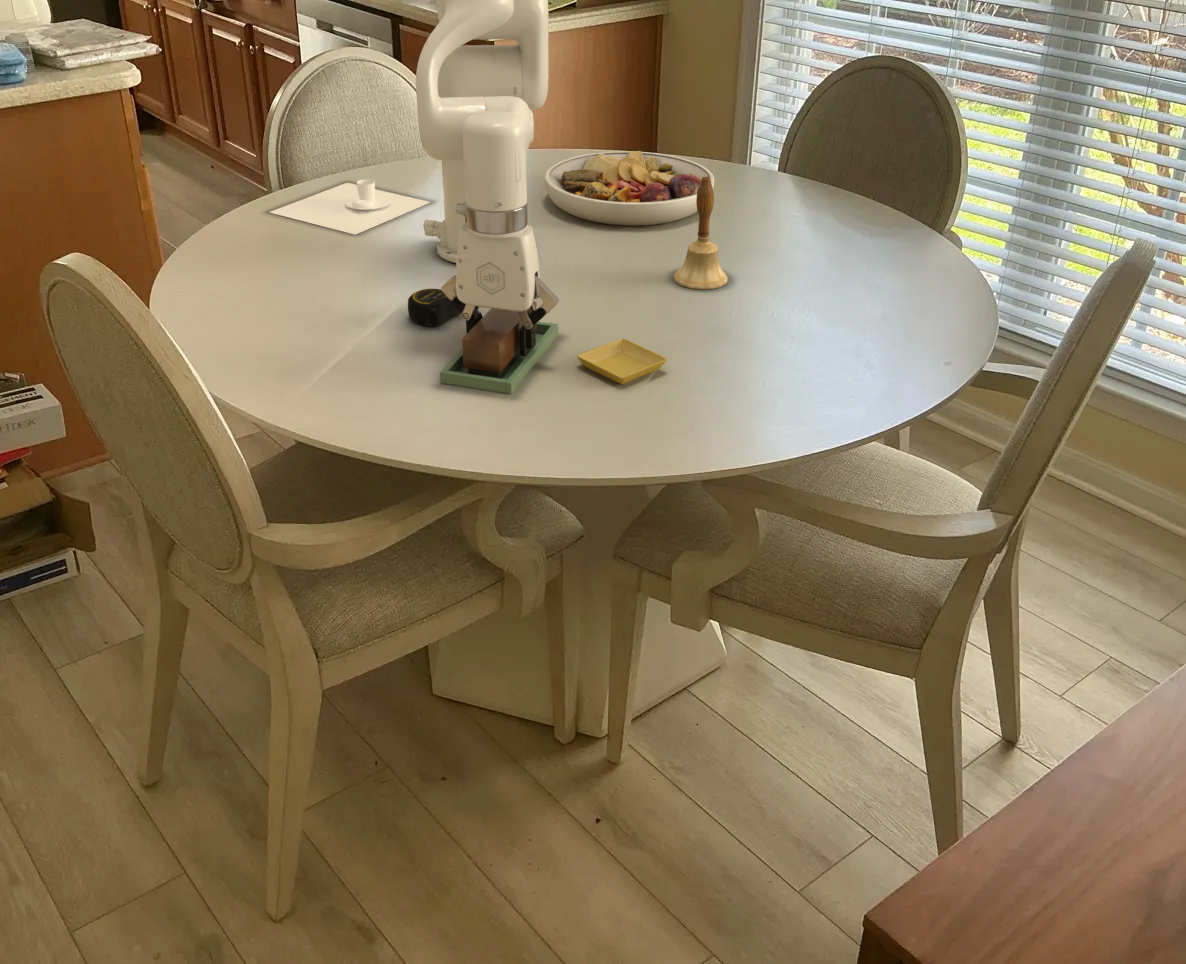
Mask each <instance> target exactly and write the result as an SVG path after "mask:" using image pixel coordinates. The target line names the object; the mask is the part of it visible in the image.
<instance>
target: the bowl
mask: <svg viewBox="0 0 1186 964" xmlns="http://www.w3.org/2000/svg"><path fill="white" fill-rule="evenodd" d="M702 177H710V178H711V184H712V187H713V189H714V188H715V176H714V174H713V173H712V172H711V171H710V170H709V169H708V168H707V167H705V166H704V165H702V164H701V163H700V164H699V163H697V162H695V161H692V160H689V159H687V158H682V157H678V156H675V155H670V154H664V153H657V152H647V151H646V152H645V151H641V150H631V151H621V150H620V151H603V152H602V151H601V152H594V153H587V154H581V155H577V156H573V157H569V158H565V159H563V160H561V161H558V162H555V164H553V165H551V166H550V167H549V168H548V169H547V170H546V172H545V175H544V182H545V189H546V192H547V194H548V196H549V198H550V200H551V201H552V202H553V203H554V204H555V205H556V206H557V207H558V208H559V209H561V210H563V211H564V212H566V213H568V214H569V215H572V216H574V217H576V218H579V219H582V220H585V221H590V222H595V223H600V224H605V225H614V226H652V225H659V224H666V223H670V222H675V221H678V220H682V219H685V218H687V217H690V216H692V215H693V214H695V213H698V211H697V204H696V199H697V191H698V188H699V186H700V183H701V180H702Z"/></svg>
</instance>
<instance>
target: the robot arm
mask: <svg viewBox="0 0 1186 964" xmlns="http://www.w3.org/2000/svg"><path fill="white" fill-rule="evenodd" d="M436 10H437V18H438V23H437V25H436V26H435V28H434V29H433V30H432V32H431V33H430V34H429V36H428V37H427V40H426V41H425V43H424V45H423V47H422V49H421V52H420V54H419V57H418V61H417V66H416V73H415V92H416V93H415V94H416V106H417V107H416V108H417V121H418V131H419V132H418V133H419V138H420V142H421V146H422V148H423V150H424V152H425V153H426V155H428V157H430V158H431V159H434V160H438V161H441V171H442V172H441V173H442V175H441V176H442V191H443V206H444V207H443V209H444V219H443V220H442V221H438V220H434V219H425V220H424V222H423V231H424V235H425V236H426V237H437V238H438V239H439V241H438V243H437V245H436V250H437V251H436V252H437V255H438V256H439V257H440V258H441V259H443V260H445V261H447V262H451V263H455V264H456V265H455V267H456V268H455V274H454V275H453V276H452V277H451V278H450V279H448V281H446V282H445V283H444V284H443V285H442V286H441V288H440V289H441V290H442V291H443V293H444V294H445V295H446V296H447V297H448V298H449V299H450V300H451V301H452V303H453V305H454V306H455V307H456V308H457V309H458V310H459V311H460V313H461V314H460V315H461V319H463V320H464V321H465V331H466V334H467V333H468V332H469V331H470V330H471V329H472V328H473V327H474V326H475V325H476V324H477V323H478V322H479V321H480V320H481V319H482V317H483V314H482V312H480V311H479V309H480V308H488V309H491V308H493V309H501V310H508V311H517V312H518V315H519V317H520V319H521V321H522V323H523V326H522V327H521V328H520V330H519V336H520V355H521V356H524V357H526V356H527V354H528V353H529V352H530V351H531V349H533V348H534V347H535V344H536V323H537V322H540V321H541V320H542V319H543V318H544V317H545V316H546V315H547V314H549V313H550V312H551V311H552V310H553V309H554V308H555V307H556V306H557V305H558V304H559V303H560V298H559V297H558V296H557V295H556V294H555V293H554V292H553V291H552V290H551V289H550V288H549V286H548V285H546V284H545V283H544V282H543V281H542V279H541V273H540V272H541V271H540V262H539V253H538V248H537V243H536V237H535V233H534V230H533V227H532V225H530V224H529V225H528V190H527V189H528V187H527V185H528V184H527V152H528V150H529V147H530V145H531V144H532V143H533V142H534V138H535V122H534V121H535V120H534V112H533V111H537V110H540V109H541V108H542V107H543V106H544V105H545V103H546V101H547V98H548V93H549V77H550V75H549V73H550V71H549V24H550V23H549V0H436ZM472 40H513V41H516V42H517V44H493V45H492V44H491V45H490V44H476V45H473V44H472V45H470V44H469V45H464V44H467V43H468V42H470V41H472ZM536 299H540V300H542V304H541V305H540V306H539V307H536V308H537V309H536V308H535V306H534V304H533V301H535V300H536Z"/></svg>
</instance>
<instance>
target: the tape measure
mask: <svg viewBox="0 0 1186 964" xmlns="http://www.w3.org/2000/svg"><path fill="white" fill-rule="evenodd" d="M407 313H408V317H409V319H410V321H411V322H413V323H415V324H417V325H420V326H426V327H433V328H434V327H435V328H437V327H440V326H442V325H444V324H445V323H447V322H448V321H450V320H452V319H454V318H456V317H457V316H459V315H462V314H461V313H460V311H459V310H458V309H457V308H456V307H455V306H454V305H453V303H452V301H451V300H450V299H449V298H448V297H447V296H446V295H445V294H444V293H443V291H442V289H441V288H425V289H424V288H423V289H420V290H417V291H415V292H413V293H412V294H411V295H410V296H409V297H408V299H407Z"/></svg>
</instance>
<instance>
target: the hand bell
mask: <svg viewBox="0 0 1186 964" xmlns="http://www.w3.org/2000/svg"><path fill="white" fill-rule="evenodd" d="M714 203H715V192H714V188H713V187H712V184H711V178H710V177H702V180H701V183H700V186H699V188H698V191H697V199H696V204H697V215H698V227H697V228H698V229H697V240H696V241H693V242H691V243H689V245H688V247H687V252H686V256H685V259H684V262H683V264H682V265H681V267H680V268H679V269H677V270H676V271H675V273H674V275H673V280H674V282H675V283H676V284H677V285H679V286H682V287H684V288H687V289H691V290H698V291H702V290H703V291H704V290H706V291H707V290H716V289H719V288H722V287H723V286H725V285H726V284H728V280H729V279H728V276H727V274H726V272H725V271H723V269H722V267H721V265H720V261H719V254H718V253H719V251H718V246H717V245H716V244H715V243H714V242H711V241H710V219H711V215H712V211H713V208H714Z"/></svg>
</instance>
